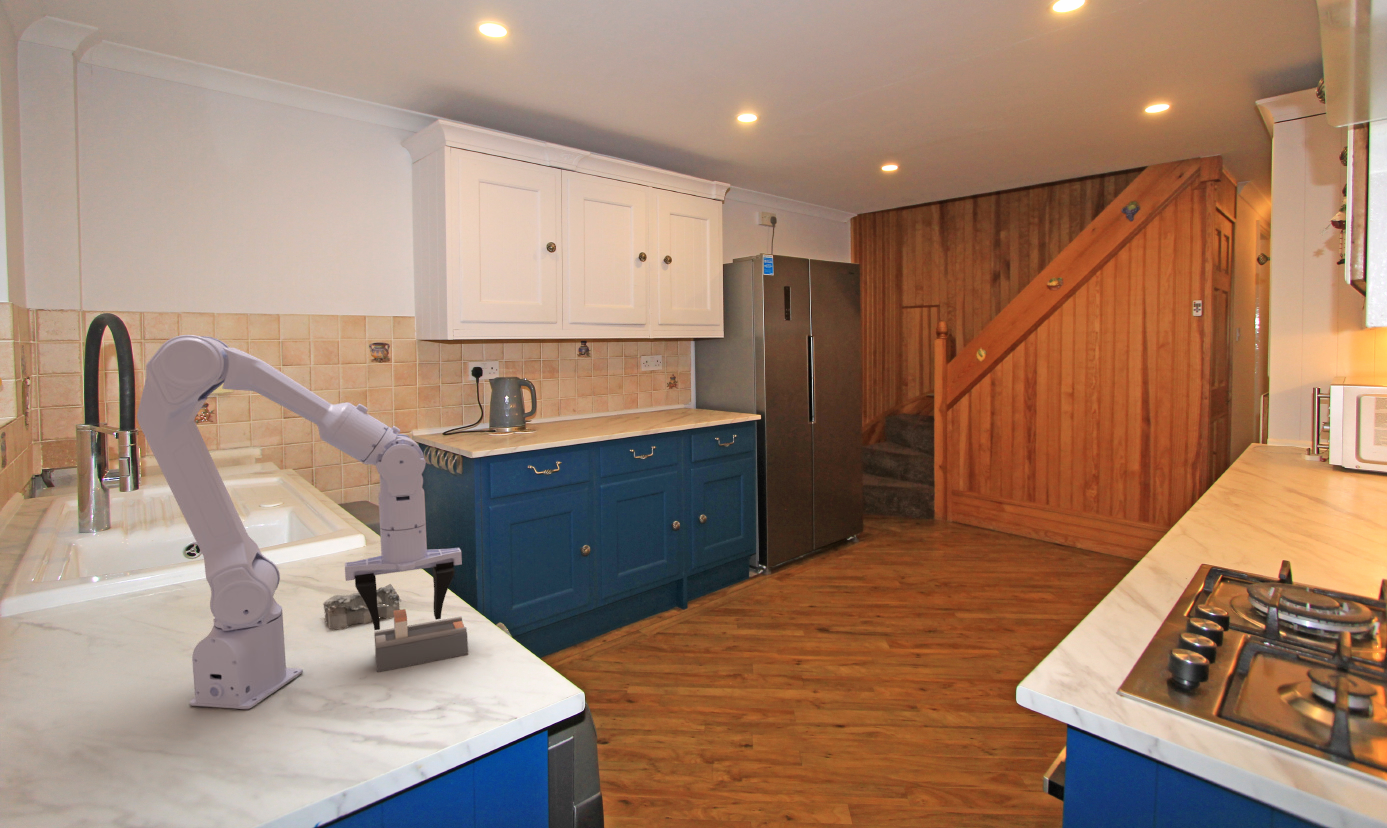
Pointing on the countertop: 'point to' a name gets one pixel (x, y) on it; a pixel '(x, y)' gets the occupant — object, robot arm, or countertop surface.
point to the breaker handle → (400, 624)
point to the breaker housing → (421, 644)
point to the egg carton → (359, 608)
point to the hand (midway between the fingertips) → (407, 621)
